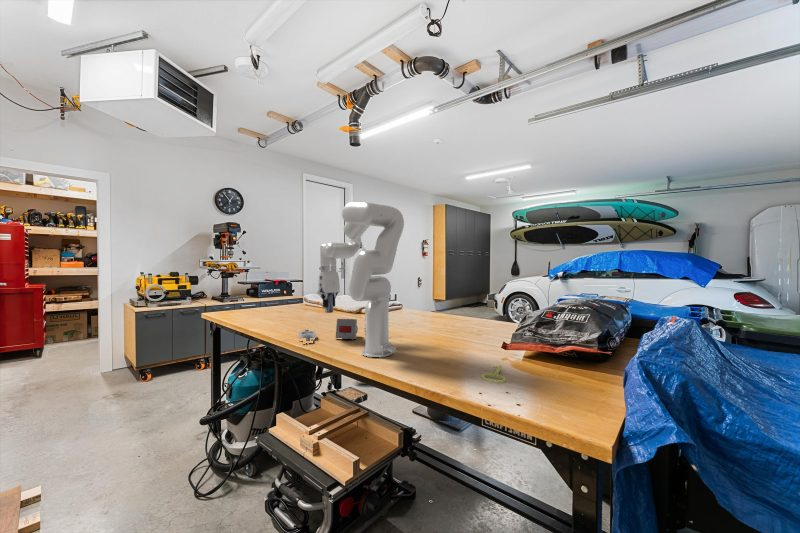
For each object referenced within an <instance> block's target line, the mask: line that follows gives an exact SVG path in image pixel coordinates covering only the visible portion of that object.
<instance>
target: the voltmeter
mask: <svg viewBox="0 0 800 533" xmlns="http://www.w3.org/2000/svg"><path fill="white" fill-rule="evenodd" d="M357 324H358V319H357V318H354V319H353V318H337V319H336V328H335V329H336V330H335V338H342V339H341V340H343V339H355V338H357V333H358V331H359V330H358V329H359V328H358V325H357Z"/></svg>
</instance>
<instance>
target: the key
mask: <svg viewBox="0 0 800 533" xmlns="http://www.w3.org/2000/svg"><path fill="white" fill-rule="evenodd" d="M492 368H493V369H495V371H493V372H492V373H483V374H482V375H481V380H483V381H486V382H489V383H493V384H494V383H496V384H503V383H506V377H505V376H503V375H501V374H499V373H500V372H501V370H502V368H503V367H502V365H501V364H499V365H493V366H492ZM489 378H494V379H499V380H494V379H489Z"/></svg>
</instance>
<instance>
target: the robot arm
mask: <svg viewBox="0 0 800 533" xmlns="http://www.w3.org/2000/svg"><path fill="white" fill-rule="evenodd" d="M341 214H342V215H341V216H342V219H343V221H344V222H346V223H345V224H344V226H343V233H344V234H345V235H346V237H347V238H349V241H348V242H328V243H322V244H320V247H319V250H320V251H319V252H320V253H319V254H320V255H319V256H320V259H319V260H320V261H319V262H320V267H319V268H318V269H319V270H320V272H319V275H318V289H317V292H316V294H317V295H318V296H320V298H321V299H322V307H323V308H324V309H325V308H328V299H327V296H328V293H333V308H334V307H336V299H337V295H338V294H340V292H341V289H340V278H339V272H338V271H337V260H338V259H343V260H344V259H351V258H353V257H354V256H355V255H356V254H357V255H356V257H355V259H354V261H353V266H352V267H353V268H352V270H351V275H350V281H349V288H348V291H349V296H350V297H351V299H352V300H353V301H355V302H367V303H366V306H365V310H364V312H365V314H364V315H365V316H364V317H365V318H364V323H365V324H364V327H365V328H364V333H365V334H364V335H365V336H364V338H365V348H363V349H362V350H361V355H362V354H363V355H364V357H366V356H367V357H366V358H372V357H379V358H386V357H389V356H392V354H394V353H395V352H396V350H397V347H396V346H392V342H390V341H389V340H390V338H389V336H390V335H389V332H390V330H389V327H390V326H389V325H390V324H389V323H390V322H389V319H390V318H389V316H390V315H389V310H390V309H389V308H390V307H389V305H390V304H389V303H390V297H391V292H392V289H391V288H392V285H391V282H390V280H389V279H388V278H387V277H385V276H382V275H387V274H389V273H390V272H391V271H392V269H393V266H394V262H395V259H396V255H397V254H396V253H397V250H398V249H397V248H398V245H399V241H400V239H401V236H402V233H403V231H404V227H405V220H404V215H403V213H402V212H401V210H399V209H398V208H396V207H394V206H390V205H385V204H379V203H374V202H373V203H372V202H356V201H355V202H353V201H351V202H348V203H347V204H345V205H344V207H343V208H342V212H341ZM370 227H380V228H381V227H383V230H382V231H381V232H380V233H379V235H378V236H377V238H376V242H375V246H374V249H373V250H369V249H367V250H366V249H364V250H362V251H359V250H360V249H361V246H362V237H363V234H365V232H366V231H367V229H369V228H370ZM358 252H359V253H358ZM363 355H362V356H363Z"/></svg>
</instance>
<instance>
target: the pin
mask: <svg viewBox="0 0 800 533" xmlns="http://www.w3.org/2000/svg"><path fill="white" fill-rule="evenodd" d="M327 299H328V308H324V313H326V314H331V313H333V312H334V307H333V293H328V296H327Z"/></svg>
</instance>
